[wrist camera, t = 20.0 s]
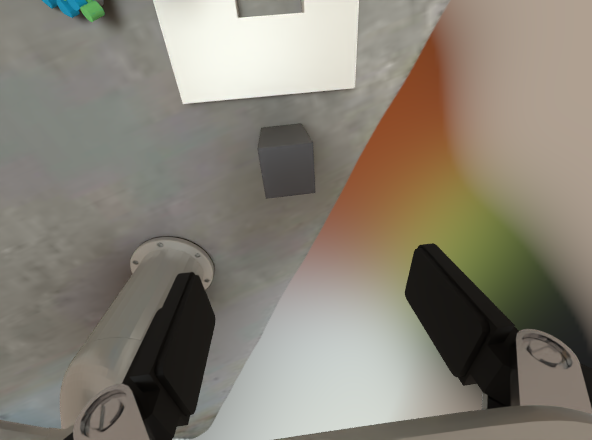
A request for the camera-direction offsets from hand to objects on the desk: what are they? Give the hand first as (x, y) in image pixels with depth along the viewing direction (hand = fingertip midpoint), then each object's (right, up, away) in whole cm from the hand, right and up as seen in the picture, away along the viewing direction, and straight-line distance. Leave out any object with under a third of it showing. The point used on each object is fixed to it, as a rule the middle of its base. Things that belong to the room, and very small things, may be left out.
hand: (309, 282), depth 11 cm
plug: (-2, +12, +21) cm, 24 cm away
